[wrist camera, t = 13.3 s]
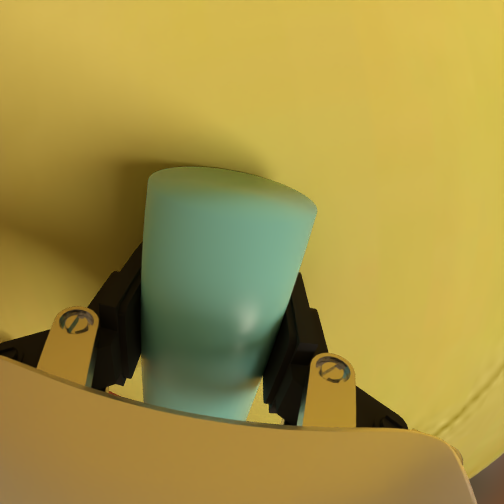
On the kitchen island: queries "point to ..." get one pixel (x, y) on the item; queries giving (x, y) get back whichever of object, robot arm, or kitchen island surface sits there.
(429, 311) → the kitchen island surface
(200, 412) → the mint green cylinder
